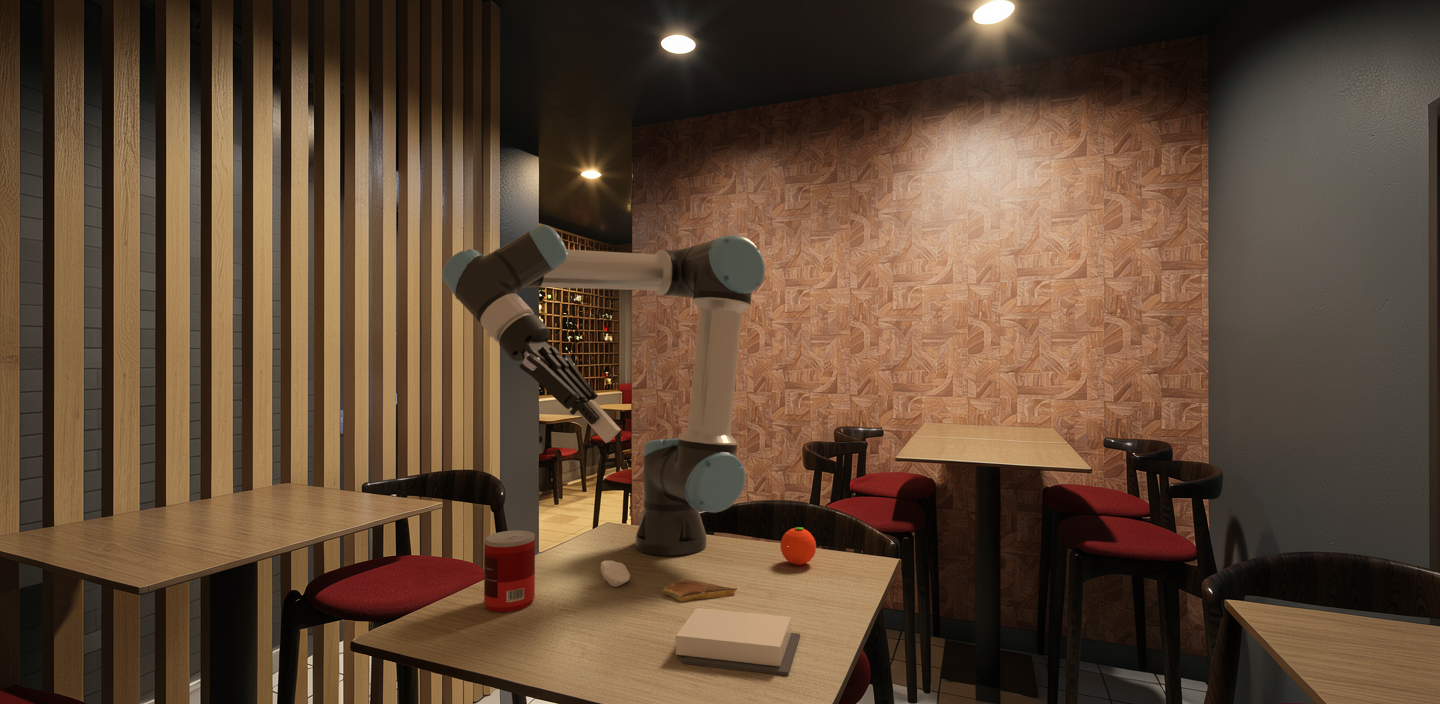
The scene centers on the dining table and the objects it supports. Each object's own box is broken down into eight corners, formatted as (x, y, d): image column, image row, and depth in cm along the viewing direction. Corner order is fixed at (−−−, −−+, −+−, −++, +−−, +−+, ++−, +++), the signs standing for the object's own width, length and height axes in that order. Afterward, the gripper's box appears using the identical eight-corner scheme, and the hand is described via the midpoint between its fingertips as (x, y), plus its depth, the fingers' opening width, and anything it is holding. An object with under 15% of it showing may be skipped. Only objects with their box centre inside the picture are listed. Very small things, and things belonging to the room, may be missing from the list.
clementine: (785, 555, 132) (785, 520, 132) (819, 559, 130) (819, 523, 130) (776, 567, 125) (776, 530, 125) (812, 571, 123) (812, 533, 123)
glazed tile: (696, 607, 96) (791, 616, 93) (696, 625, 96) (791, 635, 93) (675, 635, 86) (780, 646, 83) (675, 655, 86) (780, 667, 83)
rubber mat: (706, 626, 97) (706, 624, 97) (800, 636, 93) (800, 633, 93) (682, 663, 85) (682, 659, 85) (788, 675, 82) (788, 672, 82)
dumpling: (598, 580, 118) (598, 558, 118) (627, 577, 119) (627, 555, 119) (603, 593, 111) (603, 569, 111) (633, 590, 113) (633, 567, 113)
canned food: (543, 597, 109) (543, 531, 109) (516, 615, 101) (516, 544, 101) (503, 593, 111) (503, 528, 111) (473, 610, 103) (474, 541, 103)
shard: (737, 597, 110) (737, 586, 110) (716, 612, 104) (716, 601, 104) (682, 586, 115) (682, 576, 115) (659, 600, 109) (659, 590, 109)
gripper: (523, 346, 111) (614, 447, 107) (477, 344, 98) (578, 459, 94) (552, 315, 110) (644, 415, 105) (508, 309, 97) (612, 423, 93)
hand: (613, 436), depth 100 cm, fingers closed
